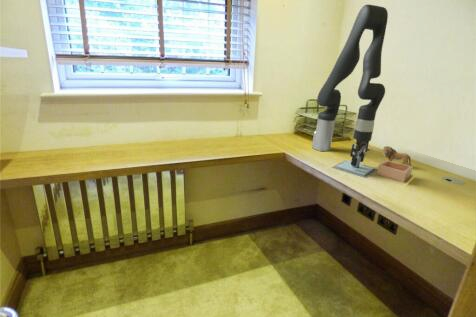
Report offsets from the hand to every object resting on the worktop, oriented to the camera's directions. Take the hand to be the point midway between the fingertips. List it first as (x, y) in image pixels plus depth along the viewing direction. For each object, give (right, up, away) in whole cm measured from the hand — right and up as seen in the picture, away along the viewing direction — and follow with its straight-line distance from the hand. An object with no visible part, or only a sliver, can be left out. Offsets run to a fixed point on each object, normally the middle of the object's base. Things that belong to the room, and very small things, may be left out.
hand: (356, 163), depth 132 cm
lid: (0, -2, +1) cm, 3 cm away
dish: (+15, -6, -4) cm, 16 cm away
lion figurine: (+23, -1, +11) cm, 26 cm away
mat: (0, -3, +1) cm, 3 cm away
